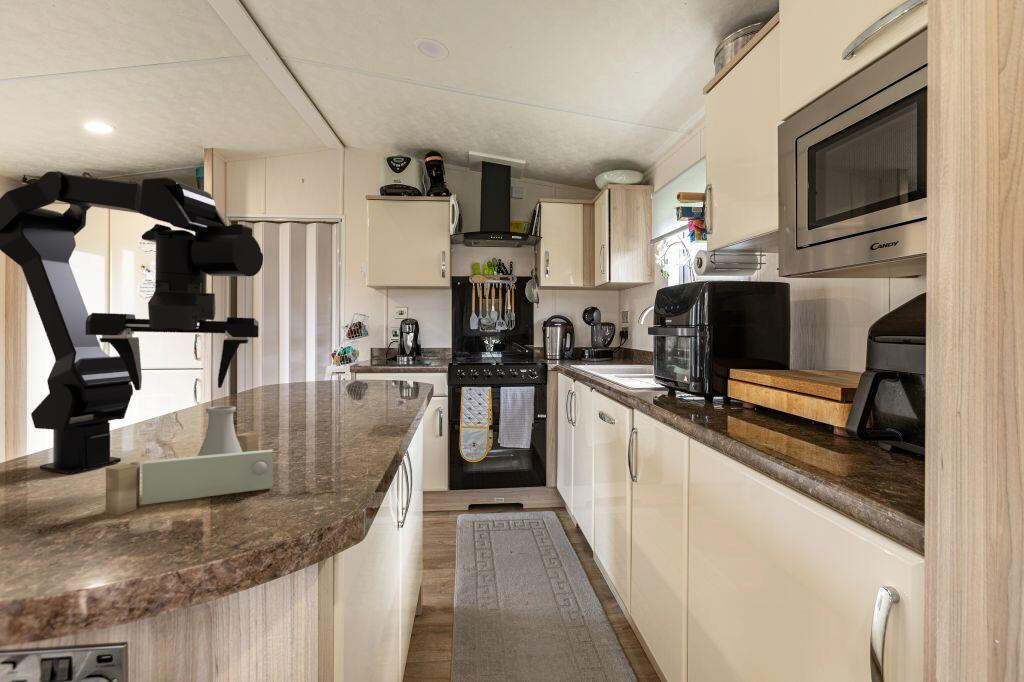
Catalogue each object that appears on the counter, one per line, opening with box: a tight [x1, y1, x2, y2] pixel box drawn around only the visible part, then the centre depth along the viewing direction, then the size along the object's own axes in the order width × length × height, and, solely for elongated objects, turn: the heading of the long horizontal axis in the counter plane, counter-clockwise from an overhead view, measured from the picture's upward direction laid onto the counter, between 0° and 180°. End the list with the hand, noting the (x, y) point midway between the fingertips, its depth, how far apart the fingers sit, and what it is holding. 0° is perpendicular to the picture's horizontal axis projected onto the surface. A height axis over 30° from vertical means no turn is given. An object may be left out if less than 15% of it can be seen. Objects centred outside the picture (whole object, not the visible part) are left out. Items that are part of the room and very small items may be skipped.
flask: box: [197, 405, 242, 456], centre depth 61 cm, size 7×7×10 cm
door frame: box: [105, 431, 259, 516], centre depth 59 cm, size 2×19×5 cm, turn 164°
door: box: [141, 448, 274, 505], centre depth 55 cm, size 2×13×5 cm, turn 119°
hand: (180, 388), depth 63 cm, fingers open, 9 cm apart
